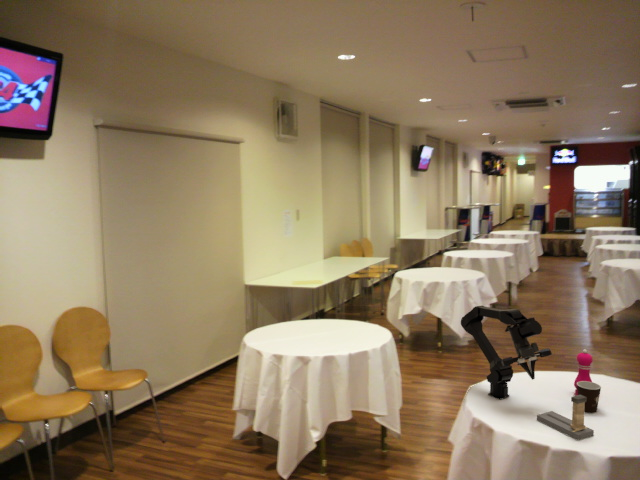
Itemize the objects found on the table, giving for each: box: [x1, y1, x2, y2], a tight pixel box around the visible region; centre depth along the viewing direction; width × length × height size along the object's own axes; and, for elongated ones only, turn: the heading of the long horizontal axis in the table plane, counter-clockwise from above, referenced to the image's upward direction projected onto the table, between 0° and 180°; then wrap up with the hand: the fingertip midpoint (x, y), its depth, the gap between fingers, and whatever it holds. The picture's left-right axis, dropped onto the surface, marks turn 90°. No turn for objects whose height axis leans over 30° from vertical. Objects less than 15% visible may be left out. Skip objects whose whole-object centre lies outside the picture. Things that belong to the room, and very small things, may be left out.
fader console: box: [536, 410, 595, 441], centre depth 193 cm, size 18×8×2 cm, turn 25°
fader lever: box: [570, 395, 587, 431], centre depth 188 cm, size 3×5×12 cm, turn 115°
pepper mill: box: [573, 349, 594, 396], centre depth 222 cm, size 7×7×20 cm
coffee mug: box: [577, 381, 602, 414], centre depth 209 cm, size 12×9×10 cm
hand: (533, 379), depth 206 cm, fingers closed
